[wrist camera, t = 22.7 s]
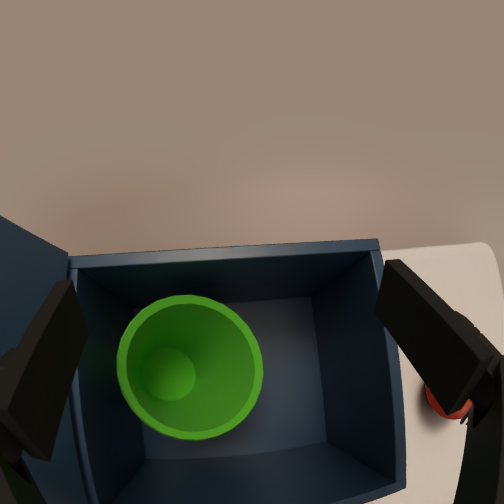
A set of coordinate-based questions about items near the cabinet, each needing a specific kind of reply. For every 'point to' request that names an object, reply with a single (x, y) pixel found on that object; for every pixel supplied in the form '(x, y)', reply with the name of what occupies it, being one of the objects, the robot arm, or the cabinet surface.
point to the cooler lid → (11, 331)
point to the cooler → (273, 384)
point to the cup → (189, 367)
